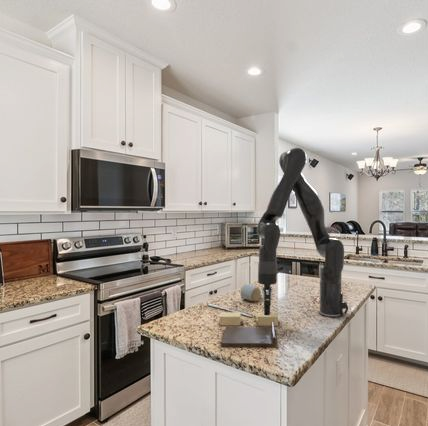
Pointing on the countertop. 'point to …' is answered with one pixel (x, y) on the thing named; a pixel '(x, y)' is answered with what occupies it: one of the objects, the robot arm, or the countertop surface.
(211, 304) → the butter knife
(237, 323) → the pad
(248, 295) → the ceramic mug
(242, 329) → the board
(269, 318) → the beige rectangular block
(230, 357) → the countertop surface
